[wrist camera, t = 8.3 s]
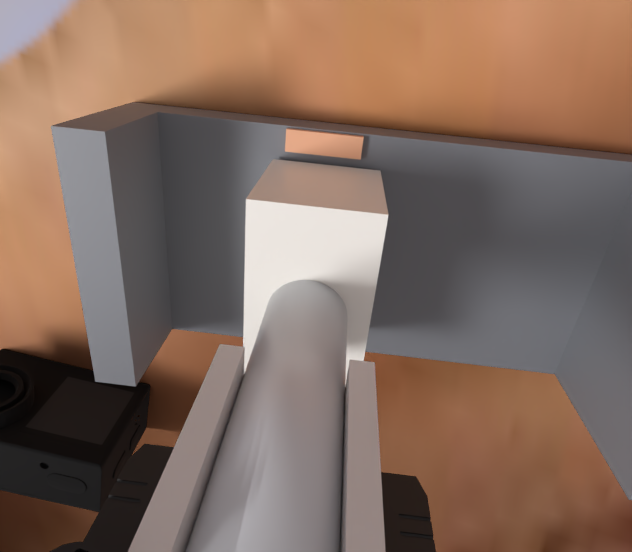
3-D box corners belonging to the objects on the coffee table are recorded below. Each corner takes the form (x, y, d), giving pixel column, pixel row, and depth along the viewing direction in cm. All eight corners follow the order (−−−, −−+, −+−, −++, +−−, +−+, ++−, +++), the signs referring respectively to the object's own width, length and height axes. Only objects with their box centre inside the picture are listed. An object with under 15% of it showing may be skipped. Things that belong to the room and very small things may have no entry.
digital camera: (154, 370, 31) (103, 454, 25) (148, 427, 34) (101, 515, 27) (0, 333, 31) (-91, 408, 24) (6, 393, 33) (-75, 475, 27)
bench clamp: (151, 306, 28) (60, 428, 20) (133, 101, 23) (-7, 142, 14) (608, 360, 28) (727, 511, 19) (704, 162, 22) (936, 245, 13)
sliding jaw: (265, 320, 26) (116, 789, 10) (273, 158, 21) (31, 514, 5) (355, 331, 25) (354, 824, 9) (380, 170, 21) (453, 569, 5)
